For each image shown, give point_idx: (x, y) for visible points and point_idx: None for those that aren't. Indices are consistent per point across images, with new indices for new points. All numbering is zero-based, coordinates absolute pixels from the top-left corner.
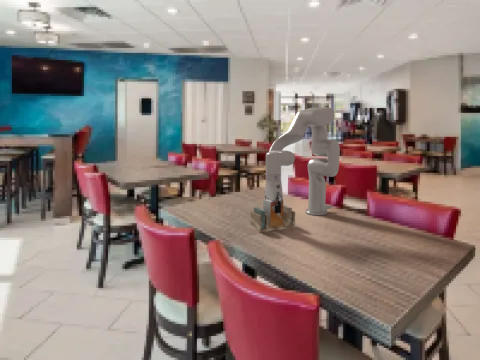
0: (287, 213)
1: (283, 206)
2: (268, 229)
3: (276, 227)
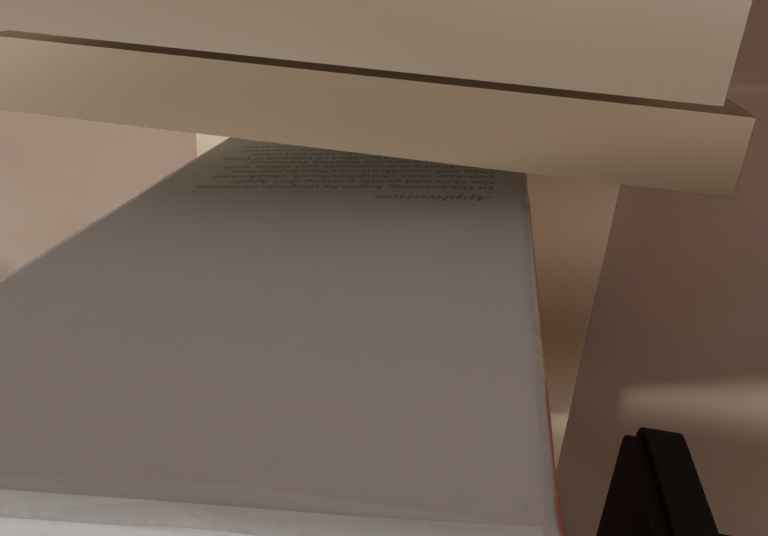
0: (738, 152)
1: (257, 53)
2: (555, 464)
3: (569, 314)
